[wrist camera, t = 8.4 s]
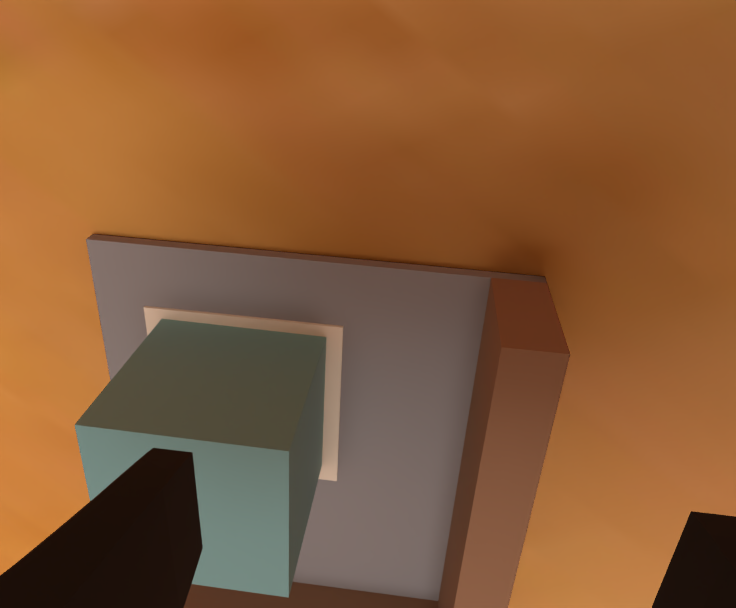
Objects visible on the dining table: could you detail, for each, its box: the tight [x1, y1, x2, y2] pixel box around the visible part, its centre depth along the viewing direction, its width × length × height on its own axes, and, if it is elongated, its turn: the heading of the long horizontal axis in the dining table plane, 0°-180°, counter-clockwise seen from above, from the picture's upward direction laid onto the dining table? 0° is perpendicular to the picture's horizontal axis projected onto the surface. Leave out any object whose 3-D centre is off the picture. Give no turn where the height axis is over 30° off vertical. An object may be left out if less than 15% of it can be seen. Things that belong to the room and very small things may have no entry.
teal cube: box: [75, 319, 326, 598], centre depth 18 cm, size 5×5×5 cm
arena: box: [86, 234, 570, 608], centre depth 20 cm, size 13×15×4 cm
